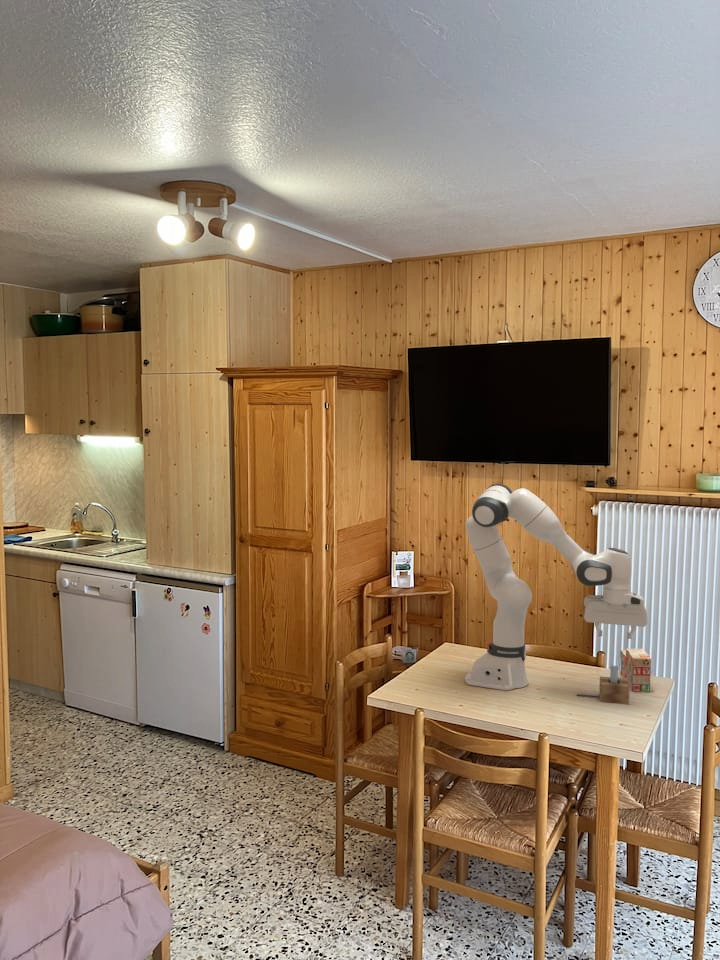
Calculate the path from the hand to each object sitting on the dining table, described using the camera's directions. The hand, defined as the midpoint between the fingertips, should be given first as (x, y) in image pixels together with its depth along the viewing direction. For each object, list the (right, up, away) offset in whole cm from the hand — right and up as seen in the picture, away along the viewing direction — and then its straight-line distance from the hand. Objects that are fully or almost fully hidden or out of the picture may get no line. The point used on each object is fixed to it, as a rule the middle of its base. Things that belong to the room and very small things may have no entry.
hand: (614, 637), depth 263 cm
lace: (-8, -21, +3) cm, 23 cm away
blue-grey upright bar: (0, -21, +1) cm, 21 cm away
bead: (0, -21, +1) cm, 21 cm away
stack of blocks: (+13, -21, +19) cm, 31 cm away
